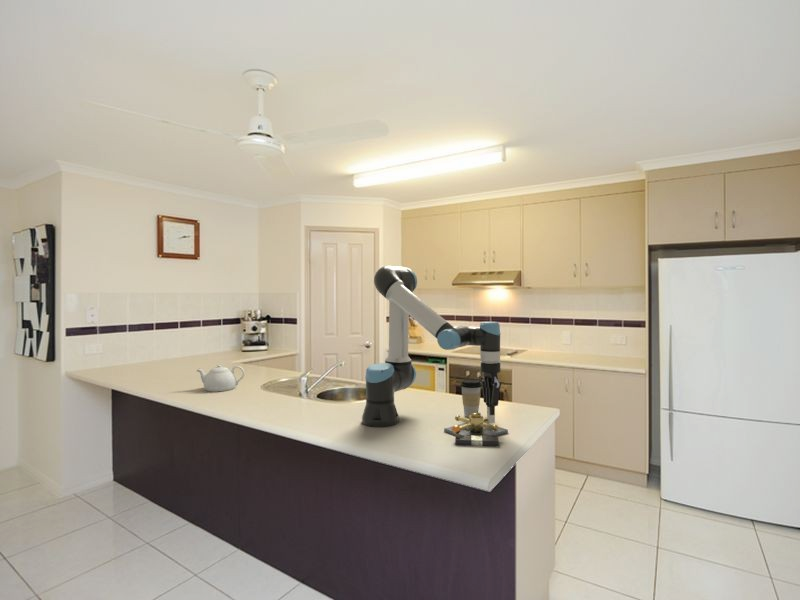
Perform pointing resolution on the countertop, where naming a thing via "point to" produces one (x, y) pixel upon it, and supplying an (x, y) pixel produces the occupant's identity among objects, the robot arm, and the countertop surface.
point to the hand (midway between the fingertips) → (490, 422)
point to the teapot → (220, 379)
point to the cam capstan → (473, 423)
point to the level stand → (477, 436)
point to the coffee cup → (470, 395)
